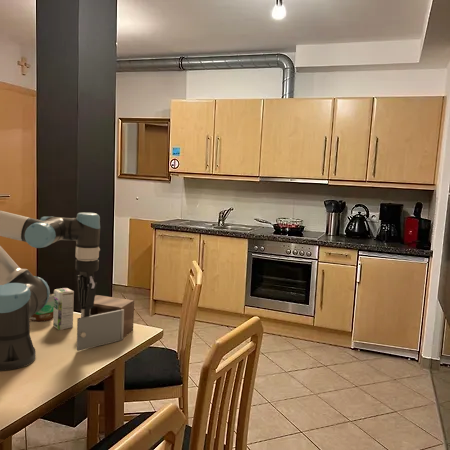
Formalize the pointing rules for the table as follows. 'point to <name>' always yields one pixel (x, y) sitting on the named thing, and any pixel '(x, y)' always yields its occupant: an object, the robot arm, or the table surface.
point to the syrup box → (63, 308)
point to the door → (100, 329)
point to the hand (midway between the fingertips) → (85, 326)
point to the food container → (45, 311)
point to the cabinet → (115, 309)
